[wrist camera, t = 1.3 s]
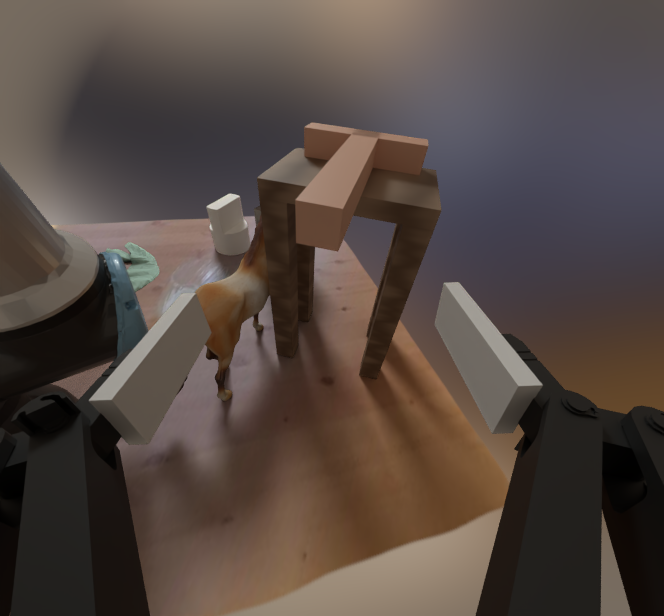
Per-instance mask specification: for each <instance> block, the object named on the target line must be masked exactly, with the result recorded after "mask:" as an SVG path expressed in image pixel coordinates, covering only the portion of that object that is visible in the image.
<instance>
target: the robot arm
mask: <svg viewBox="0 0 664 616" xmlns="http://www.w3.org/2000/svg"><path fill="white" fill-rule="evenodd" d="M435 326H436V328H437V330H438V332H439V334H440V336H441V337H442V339H443V341H444V343H445V345H446V347H447V349H448V351H449V353H450V355H451V356H452V358H453V360H454V362H455V364H456V366H457V368H458V370H459V372H460V374H461V375H462V377H463V379H464V381H465V383H466V385H467V387H468V389H469V391H470V392H471V395H472V396H473V398H474V400H475V402H476V404H477V406H478V408H479V410H480V412H481V414H482V415H483V417H484V419H485V421H486V423H487V425H488V427H489V428H490V431H491V433H492V434H497V433H513V432H514V430H515V428H516V427H517V425H518V424H519V425H520V427H521V428H522V430H523V431H524V433H525V434H524V435H523V437H522V438H521V440H520V441H519V443H518V444H517V446H516V447H515V450H517V451H518V454H517V458H516V461H515V465H514V469H513V473H512V477H511V481H510V485H509V489H508V492H507V496H506V500H505V504H504V508H503V512H502V516H501V520H500V523H499V527H498V531H497V535H496V539H495V543H494V547H493V550H492V554H491V558H490V562H489V566H488V570H487V574H486V578H485V581H484V585H483V589H482V594H481V597H480V601H479V605H478V609H477V612H476V616H600V607H601V524H602V523H601V522H602V519H601V518H602V511H603V514H604V518H605V522H606V525H607V529H608V532H609V536H610V540H611V543H612V547H613V550H614V554H615V557H616V560H617V564H618V568H619V572H620V575H621V579H622V582H623V586H624V589H625V593H626V596H627V600H628V604H629V607H630V611H631V614H632V616H664V412H663V411H660V410H657V409H655V408H652V407H645V406H637V407H634V408H633V409H632V410H631V411H630V412H629V413H628V414H623V413H618V412H613V411H609V410H604V409H600V408H597V406H596V405H595V404H594V403H592V402H591V401H590V400H588V399H587V398H585V397H584V396H582V395H580V394H578V393H575V392H572V391H568V390H565V389H564V388H563V387H562V386H561V385H560V384H559V383H558V381H557V380H556V379H555V378H554V377H553V376H552V375H551V374H550V373H549V371H548V370H547V369H546V368H545V367H544V366H543V365H542V363H541V362H540V361H538V360H537V358H536V357H535V355H534V354H533V353H531V352H530V350H529V349H528V348H527V346H526V345H525V344H524V343H523V342H522V341H520V340H519V339H517V338H516V337H514V336H513V335H511V334H500V332H499V331H498V330H497V329H496V327H495V326H494V325H493V324H492V322H491V321H490V320H489V319H488V318H487V316H486V315H485V314H484V313H483V312H482V310H481V309H480V308H479V307H478V305H477V304H476V303H475V302H474V301H473V299H472V298H471V297H470V296H469V294H468V293H467V292H466V291H465V289H464V288H463V287H462V286H461V285H460V283H459V282H454V283H444V285H443V289H442V294H441V298H440V303H439V307H438V311H437V316H436V320H435ZM211 333H212V332H211V330H210V327H209V325H208V322H207V320H206V317H205V315H204V312H203V310H202V307H201V305H200V302H199V300H198V297H197V294H196V293H184V294H181V295H180V296H179V297H178V298H177V300H176V301H175V302H174V303H173V304H172V305H171V306H170V308H169V309H168V310H167V311H166V312H165V313H164V314H163V316H162V317H161V318H160V319H159V320H158V321H157V322H156V324H155V325H154V326H153V327H152V328H151V329H150V330H149V331H148V328H147V325H146V322H145V319H144V316H143V313H142V310H141V308H140V305H139V302H138V299H137V296H136V294H135V291H134V288H133V286H132V283H131V280H130V277H129V275H128V272H127V269H126V267H125V264H124V262H123V260H122V258H121V256H120V255H119V254H117V253H114V252H112V253H107V252H102V253H99V255H98V254H97V253H96V251H95V250H94V249H93V248H92V246H91V245H90V244H89V243H88V242H87V241H85V240H84V239H82V238H81V237H79V236H77V235H74V234H72V233H69V232H65V231H61V230H56V229H53V227H52V226H51V225H50V224H49V222H48V221H47V220H46V219H45V217H44V216H43V215H42V214H41V213H40V211H39V210H38V209H37V208H36V206H35V205H34V204H33V203H32V201H31V200H30V199H29V198H28V196H27V195H26V194H25V193H24V192H23V190H22V189H21V188H20V187H19V185H18V184H17V183H16V182H15V180H14V179H13V178H12V177H11V176H10V174H9V173H8V172H7V170H6V169H5V168H4V167H3V166H2V164H1V163H0V616H9V614H10V611H11V614H10V616H150V613H149V608H148V602H147V597H146V591H145V586H144V581H143V575H142V570H141V564H140V559H139V553H138V548H137V543H136V537H135V532H134V526H133V521H132V515H131V510H130V505H129V499H128V494H127V488H126V483H125V477H124V472H123V467H122V461H121V456H120V450H119V449H118V447H117V446H116V444H117V442H118V441H119V439H120V438H121V437H122V438H123V439H124V440H125V441H126V442H127V443H128V444H129V445H139V444H149V443H150V441H151V439H152V437H153V436H154V434H155V432H156V430H157V428H158V427H159V425H160V423H161V421H162V420H163V418H164V416H165V414H166V412H167V411H168V409H169V407H170V405H171V404H172V402H173V400H174V398H175V397H176V395H177V393H178V391H179V389H180V388H181V386H182V384H183V382H184V381H185V379H186V377H187V375H188V374H189V372H190V370H191V368H192V366H193V365H194V363H195V361H196V359H197V358H198V356H199V354H200V352H201V351H202V349H203V347H204V345H205V343H206V342H207V340H208V338H209V336H210V335H211ZM112 361H114V362H113V363H112V364H111V365H110V366H109V369H106V370H105V372H104V373H103V374H102V376H101V377H99V378H98V379H97V380H96V381H95V383H94V384H93V385H92V386H91V387H90V388H89V389H88V390H87V391H86V392H85V394H84V395H83V396H82V397H81V398H80V399H79V400H78V399H77V398H76V397H75V396H73V395H72V394H71V393H70V392H68V391H67V390H65V389H64V388H61V387H59V386H56V385H53V384H50V383H53V382H56V381H59V380H62V379H64V378H67V377H70V376H73V375H75V374H78V373H81V372H84V371H87V370H89V369H92V368H95V367H98V366H100V365H103V364H106V363H109V362H112Z"/></svg>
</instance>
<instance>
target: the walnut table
mask: <svg viewBox="0 0 664 616" xmlns="http://www.w3.org/2000/svg"><path fill="white" fill-rule="evenodd" d="M328 161H329V160H323V159H317V158H311V157H305V156H304V149H301V148H296V149H294V150H293V151H292V152H290V153H289V154H288V155H286V156H285V157H284V158H283V159H281V160H280V161H279V162H278V163H276V164H275V165H273V166H272V167H271V168H269V169H268V170H267V171H265V172H264V173H263V174H261V175H260V176H259V177H257V182H258V190H259V198H260V208H261V217H262V226H263V235H264V243H265V252H266V261H267V270H268V279H269V287H270V296H271V305H272V314H273V323H274V332H275V340H276V349H277V354H279V355H283V356H287V357H291V358H293V357H294V355H295V352H296V350H297V347H298V320H301V321H305V322H308V321H309V319H310V316H311V314H312V307H313V282H314V258H315V247H313V246H308V245H304V244H299V243H296V212H295V200H296V199H297V197H298V196H299V195H300V194H301V193H302V192H303V190H304V189H305V188H306V187H307V186H308V185H309V183H310V182H311V181H312V180H313V179H314V178H315V176H316V175H317V174H318V173H319V172H320V171H321V169H322V168H323V167H324V166H325V165H326V164H327V162H328ZM440 213H441V204H440V197H439V189H438V182H437V175H436V170H431V169H425V168H422V169H421V172H420V175H414V174H408V173H402V172H396V171H390V170H384V169H378V168H373V169H372V171H371V173H370V176H369V178H368V181H367V183H366V186H365V188H364V190H363V193H362V195H361V198H360V200H359V202H358V205H357V207H356V210H355V212H354V214H353V215H354V216H359V217H365V218H370V219H375V220H380V221H386V222H391V223H396V226H395V229H394V233H393V237H392V240H391V244H390V248H389V251H388V255H387V259H386V263H385V266H384V270H383V274H382V277H381V281H380V285H379V288H378V292H377V296H376V300H375V303H374V307H373V311H372V314H371V318H370V322H369V326H368V331H367V336H369V337H368V341H367V344H366V348H365V351H364V355H363V358H362V362H361V368H360V373H359V375H361V376H365V377H369V378H373V379H377V376H378V373H379V371H380V368H381V366H382V363H383V361H384V358H385V355H386V353H387V350H388V348H389V345H390V342H391V340H392V337H393V335H394V332H395V329H396V327H397V324H398V322H399V319H400V316H401V314H402V311H403V309H404V306H405V304H406V301H407V298H408V296H409V293H410V290H411V288H412V285H413V283H414V280H415V277H416V275H417V272H418V270H419V267H420V265H421V262H422V259H423V257H424V254H425V252H426V249H427V246H428V244H429V241H430V239H431V236H432V234H433V231H434V228H435V226H436V223H437V221H438V218H439V215H440Z"/></svg>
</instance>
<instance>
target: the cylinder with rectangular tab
mask: <svg viewBox="0 0 664 616" xmlns="http://www.w3.org/2000/svg"><path fill="white" fill-rule="evenodd" d="M207 211H208V215H209V219H210V223H211V224H210V231H211V235H212V238H213V242H214V246H215V249H216V251H217V252H219V253H220V254H223V255H239V254H242V253H244V252H246V251H248V250H249V247H250V245H251V244H250V238H249V232H248V225H247V222H246V221H245V220H244V218H243V212H242V206H241V200H240V196H238V195H235V194H228V195H226V196H224V197H223V198H221V199H219V200H217V201H216V202H214V203H212V204H210V205H208V206H207Z"/></svg>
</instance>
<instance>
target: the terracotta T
mask: <svg viewBox="0 0 664 616" xmlns="http://www.w3.org/2000/svg"><path fill="white" fill-rule="evenodd" d="M304 128H305V129H304V130H305V131H304V133H305V134H304V146H305V147H304V156H305V157H311V158H317V159H323V160H329V161H328V162H327V164H326V165H325V166H324V167H323V168H322V169H321V171H320V172H319V173H318V174H317V175H316V176H315V178H314V179H313V180H312V181H311V182H310V183H309V185H308V186H307V187H306V188H305V189H304V190H303V192H302V193H301V194H300V195H299V196H298V197H297V199H296V200H295V212H296V243H299V244H304V245H308V246H313V247H318V248H323V249H328V250H333V251H338V250H339V248H340V246H341V243H342V241H343V238H344V236H345V234H346V231H347V229H348V226H349V224H350V221H351V219H352V217H353V214H354V212H355V210H356V207H357V205H358V202H359V200H360V198H361V195H362V193H363V190H364V188H365V186H366V183H367V181H368V178H369V176H370V173H371V171H372V169H373V168H378V169H384V170H390V171H396V172H402V173H408V174H414V175H420V172H421V169H422V165H423V162H424V158H425V155H426V152H427V149H428V140H426V139H419V138H413V137H406V136H399V135H392V134H386V133H379V132H373V131H365V130H358V129H352V128H345V127H339V126H332V125H326V124H319V123H311V124H309V125H307V126H306V127H304Z"/></svg>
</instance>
